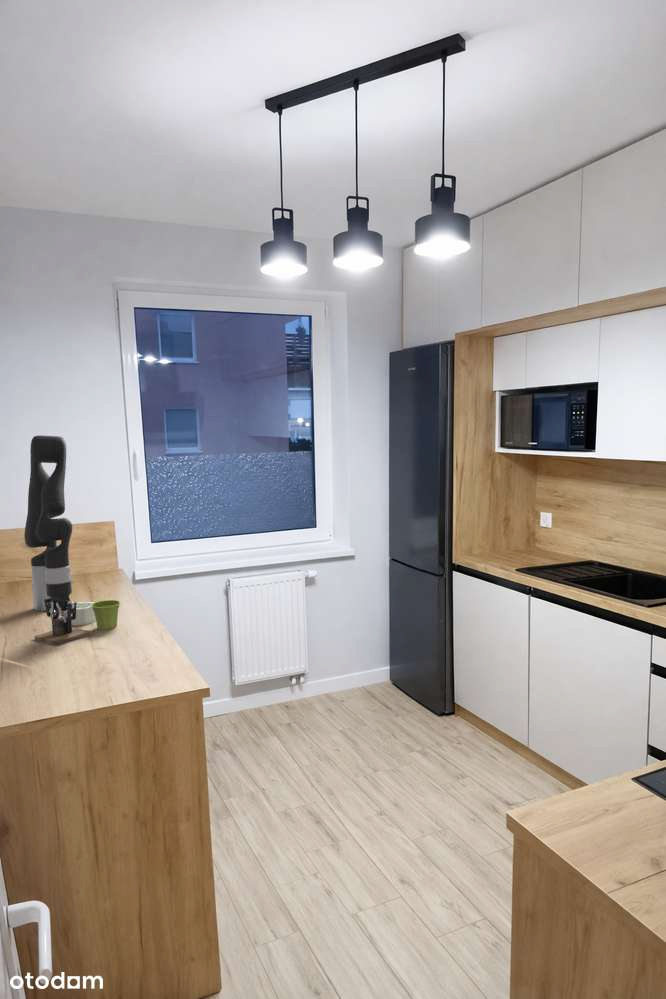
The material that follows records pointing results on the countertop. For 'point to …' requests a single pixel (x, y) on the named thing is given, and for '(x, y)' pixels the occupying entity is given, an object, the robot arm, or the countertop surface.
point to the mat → (60, 644)
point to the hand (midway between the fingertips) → (62, 631)
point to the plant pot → (106, 613)
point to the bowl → (83, 613)
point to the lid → (61, 633)
